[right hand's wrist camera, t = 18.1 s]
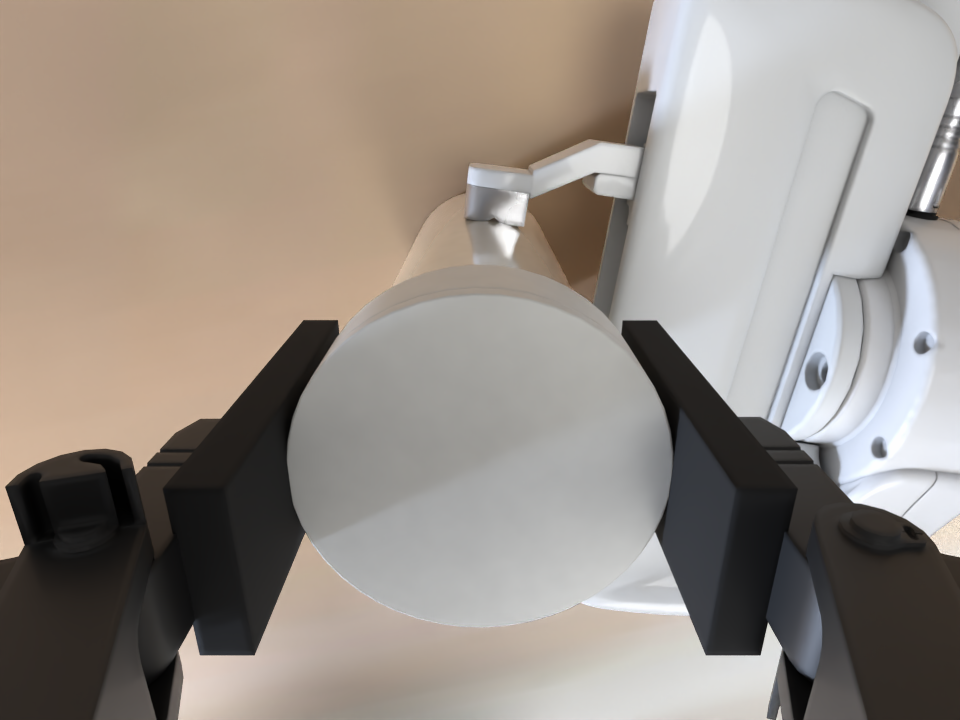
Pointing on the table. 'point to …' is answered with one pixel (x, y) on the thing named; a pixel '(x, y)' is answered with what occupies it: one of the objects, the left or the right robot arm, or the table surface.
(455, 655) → the table surface
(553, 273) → the jar
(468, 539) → the lid
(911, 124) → the left robot arm
